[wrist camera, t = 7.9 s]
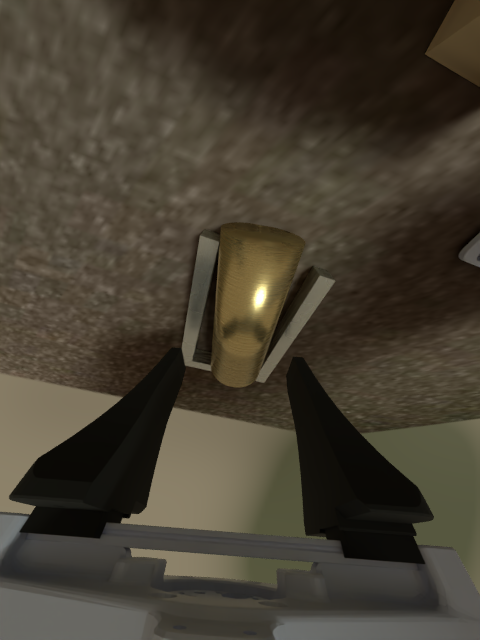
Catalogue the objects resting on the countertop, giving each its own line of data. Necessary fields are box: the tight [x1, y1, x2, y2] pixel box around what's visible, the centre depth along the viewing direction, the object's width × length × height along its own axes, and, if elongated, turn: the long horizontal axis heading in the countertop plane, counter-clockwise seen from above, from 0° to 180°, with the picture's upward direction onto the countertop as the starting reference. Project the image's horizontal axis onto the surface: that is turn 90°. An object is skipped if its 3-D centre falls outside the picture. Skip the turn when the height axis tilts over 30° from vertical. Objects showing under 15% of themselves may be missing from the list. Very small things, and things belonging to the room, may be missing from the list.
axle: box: [211, 222, 305, 388], centre depth 12 cm, size 10×4×4 cm, turn 171°
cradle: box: [182, 229, 335, 383], centre depth 14 cm, size 8×11×1 cm
